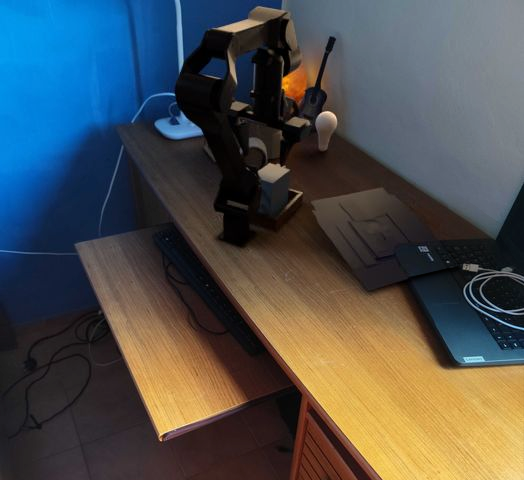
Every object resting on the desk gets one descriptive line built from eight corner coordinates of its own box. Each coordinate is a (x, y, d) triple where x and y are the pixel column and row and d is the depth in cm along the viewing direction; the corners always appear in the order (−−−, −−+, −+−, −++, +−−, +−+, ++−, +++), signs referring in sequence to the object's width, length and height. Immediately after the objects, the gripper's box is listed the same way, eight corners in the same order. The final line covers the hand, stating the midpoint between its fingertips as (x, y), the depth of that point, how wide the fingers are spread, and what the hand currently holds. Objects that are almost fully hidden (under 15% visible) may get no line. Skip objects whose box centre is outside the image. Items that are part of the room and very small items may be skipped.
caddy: (275, 231, 108) (276, 219, 106) (241, 219, 110) (241, 208, 108) (302, 203, 117) (303, 192, 115) (269, 193, 119) (270, 182, 117)
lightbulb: (310, 153, 136) (314, 114, 128) (314, 145, 140) (319, 106, 132) (330, 157, 135) (336, 117, 127) (334, 148, 139) (340, 110, 131)
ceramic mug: (265, 161, 131) (266, 133, 126) (266, 175, 126) (268, 147, 120) (228, 161, 131) (227, 133, 125) (227, 175, 125) (227, 146, 120)
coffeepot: (240, 152, 135) (240, 84, 121) (256, 141, 140) (258, 74, 127) (286, 166, 130) (293, 97, 117) (301, 154, 136) (309, 87, 122)
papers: (385, 195, 119) (389, 183, 116) (456, 275, 103) (463, 262, 100) (300, 212, 111) (303, 199, 108) (363, 300, 96) (368, 288, 93)
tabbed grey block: (288, 207, 114) (292, 168, 107) (265, 227, 108) (267, 187, 100) (269, 200, 116) (271, 161, 109) (245, 219, 110) (246, 179, 102)
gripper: (326, 83, 95) (316, 158, 107) (248, 65, 101) (246, 138, 112) (302, 99, 88) (294, 177, 100) (220, 79, 94) (221, 155, 105)
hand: (263, 160), depth 105 cm, fingers open, 9 cm apart
